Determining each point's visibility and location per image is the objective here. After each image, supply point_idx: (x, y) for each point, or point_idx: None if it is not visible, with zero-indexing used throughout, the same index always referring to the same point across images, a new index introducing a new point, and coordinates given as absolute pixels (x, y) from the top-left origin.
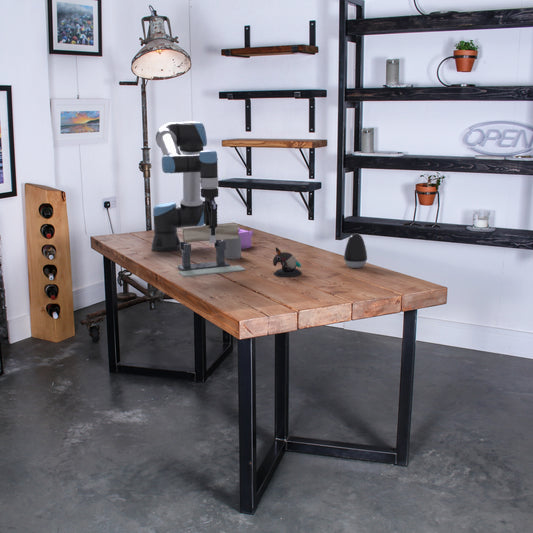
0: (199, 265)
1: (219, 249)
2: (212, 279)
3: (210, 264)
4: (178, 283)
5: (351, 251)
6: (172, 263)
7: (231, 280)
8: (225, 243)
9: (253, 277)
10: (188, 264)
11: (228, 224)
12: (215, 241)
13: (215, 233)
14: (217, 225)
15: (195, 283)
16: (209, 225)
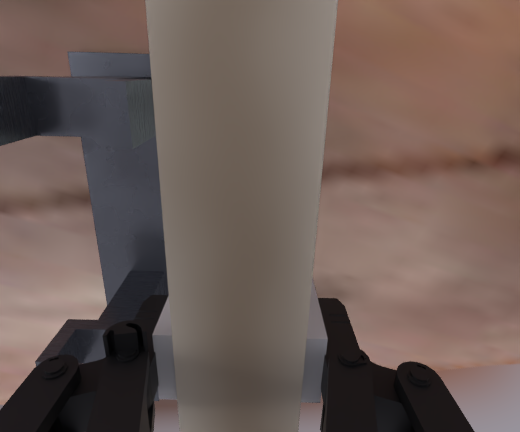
0: (144, 224)
1: (152, 136)
2: (399, 235)
3: (142, 165)
4: (379, 364)
5: None
6: (4, 299)
7: (474, 163)
8: (134, 83)
9: (497, 23)
10: (161, 288)
11: (230, 109)
12: None
13: (315, 296)
14: (242, 298)
15: (419, 314)
16: (193, 381)
